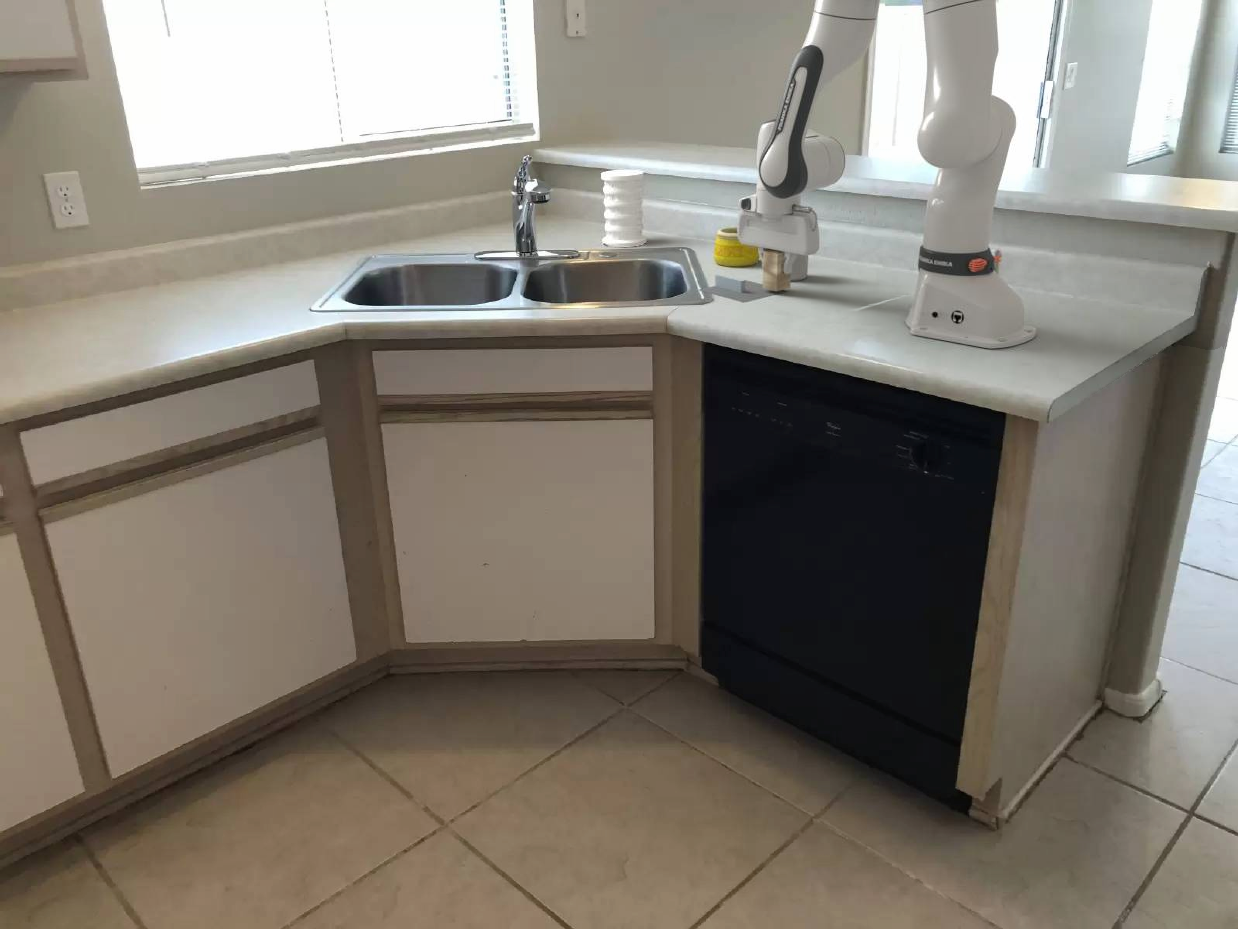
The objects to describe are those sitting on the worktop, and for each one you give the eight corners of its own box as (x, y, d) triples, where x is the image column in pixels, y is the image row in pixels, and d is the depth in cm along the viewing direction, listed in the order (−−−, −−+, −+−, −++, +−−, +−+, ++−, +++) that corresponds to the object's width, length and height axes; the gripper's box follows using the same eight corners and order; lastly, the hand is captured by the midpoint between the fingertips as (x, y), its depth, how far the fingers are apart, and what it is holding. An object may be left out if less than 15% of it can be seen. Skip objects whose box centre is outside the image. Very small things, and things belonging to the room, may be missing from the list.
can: (805, 275, 210) (808, 220, 205) (808, 283, 203) (811, 227, 198) (771, 275, 211) (773, 221, 206) (773, 283, 204) (775, 227, 199)
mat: (789, 292, 197) (789, 290, 196) (743, 304, 190) (743, 302, 190) (742, 281, 207) (742, 279, 207) (698, 291, 200) (698, 289, 200)
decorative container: (630, 237, 256) (628, 168, 248) (654, 243, 247) (653, 172, 240) (594, 242, 250) (591, 172, 243) (617, 249, 241) (615, 177, 234)
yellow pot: (732, 271, 215) (733, 218, 210) (704, 263, 224) (704, 212, 219) (776, 263, 221) (778, 211, 216) (747, 256, 230) (748, 205, 225)
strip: (745, 291, 197) (745, 280, 196) (740, 292, 197) (741, 281, 196) (719, 284, 203) (719, 273, 202) (715, 285, 202) (715, 274, 201)
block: (790, 287, 196) (791, 249, 192) (776, 291, 193) (777, 252, 190) (776, 284, 199) (777, 246, 195) (762, 288, 196) (763, 249, 193)
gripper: (828, 205, 183) (825, 276, 188) (754, 196, 198) (753, 261, 204) (805, 209, 179) (803, 281, 185) (732, 199, 195) (732, 266, 200)
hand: (776, 271), depth 195 cm, fingers closed on block, 4 cm apart
